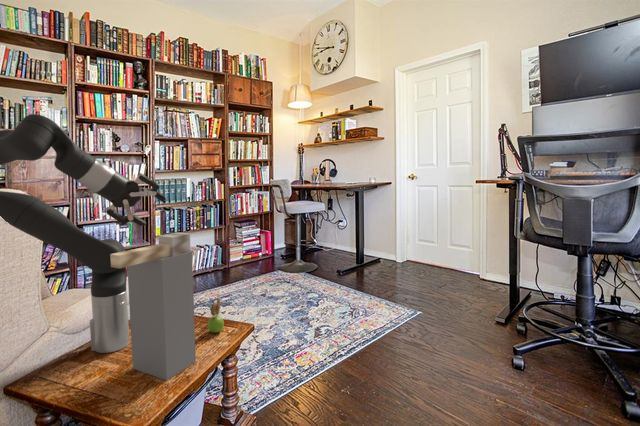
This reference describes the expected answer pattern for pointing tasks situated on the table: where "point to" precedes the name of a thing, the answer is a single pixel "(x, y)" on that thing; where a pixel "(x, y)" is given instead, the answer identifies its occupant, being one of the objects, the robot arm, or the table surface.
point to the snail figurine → (215, 318)
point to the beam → (153, 250)
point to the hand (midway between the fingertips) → (155, 212)
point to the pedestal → (162, 315)
